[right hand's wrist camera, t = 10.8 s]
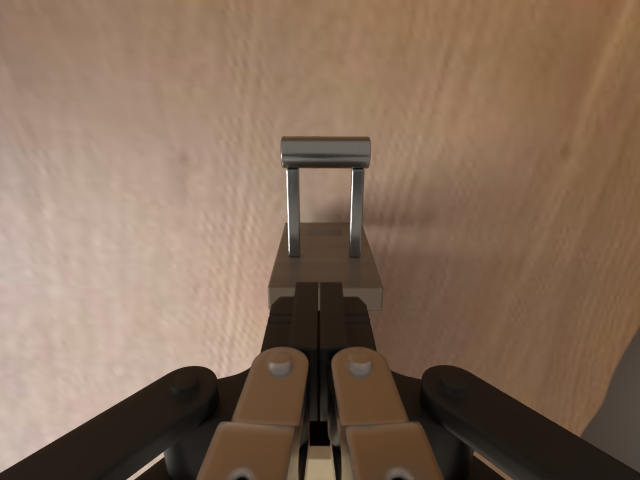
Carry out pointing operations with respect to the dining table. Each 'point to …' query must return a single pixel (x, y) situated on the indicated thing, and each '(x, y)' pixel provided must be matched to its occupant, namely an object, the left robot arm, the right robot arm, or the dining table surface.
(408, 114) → the dining table surface
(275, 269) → the drawer
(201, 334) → the dining table surface
